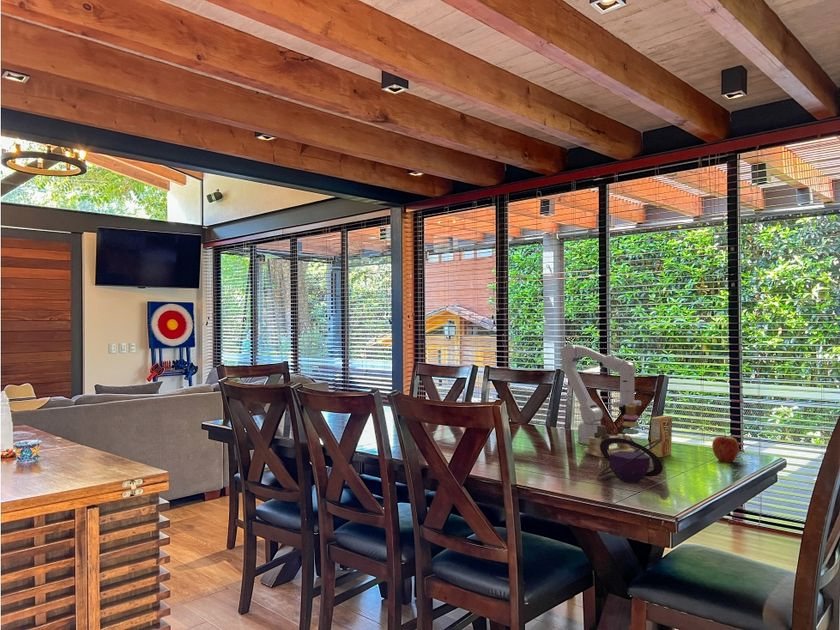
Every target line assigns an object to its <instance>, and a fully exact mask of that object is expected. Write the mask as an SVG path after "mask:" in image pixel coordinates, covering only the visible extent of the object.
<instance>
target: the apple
mask: <svg viewBox="0 0 840 630" xmlns="http://www.w3.org/2000/svg"><path fill="white" fill-rule="evenodd" d="M711 448H712V451H713V454H714V456H715V458H716V459H717V460H718V461H720V462H723V461H724V462H723V463H733V461H735V460H736V458H737V456H738V454H739V451H740V446H739V442H738V440H737V439H736V438H734V437H733V436H727V435H726V434H724V436H723V435H722V436H721V435H718V436H716V437H715V438H714V439H713V441H712V447H711Z"/></svg>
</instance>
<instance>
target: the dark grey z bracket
mask: <svg viewBox="0 0 840 630" xmlns="http://www.w3.org/2000/svg"><path fill="white" fill-rule="evenodd" d="M609 436H610V434H607V426H606V425H602V424H601V425H600V426H597V432H596V433H594V438H600V437H604V438H603V440H605V439H608V438H609ZM609 446H610V445H609ZM609 446H608V447H607V450H609Z"/></svg>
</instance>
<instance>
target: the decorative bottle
mask: <svg viewBox="0 0 840 630" xmlns="http://www.w3.org/2000/svg"><path fill="white" fill-rule="evenodd" d="M625 409H626V414H625V415H624V416H622V419H623V418H624V419H630V420H631V422H626V421H625V422H624V421H623V423H622V426H624V427H629V428H624V429H623V430H622V431H621V432H622V434H624V435H638V434H639V433H640V431H639V430H638V429H635V428H636V427H639V426H640V424H639V423H638V422H636V421H632V420H639V419H640V417H639V415H637V413H636V410H637V405H636V406H633V405H631V404H626V406H625ZM632 414H633V415H632ZM634 427H635V428H634ZM661 440H662V439H658V440H656V441H653V442H651V441H650V442H649V443H648V444H645V445H641V444H639V443H637V442H635V441H632V440H630V441H629V440H626V439H620V438H608V439H605V440H603V441H602V442H601V444H600V450H601V452H602V454H603V456H604V457H603V458H605V459H606V460H607V461H608V467H606V468H605V469H604V470H603V471H601V472H600V473H599V474H598V477H603V476H605V475H609V474H610V473H613V474H614V475H615V476H616V478H617V479H618V480H620V481H621V482H623V483H628V484H639V483H640V481H642V479H643V478H645V477H647V478H648V477H649V478H651V477H656V476H657V477H658V475H661V474H662V472H663V469H664V467H663V463H662V461H661V459H660V458H659V457H657V456H656V455H655V454H654V453H652V452H651V449H652V448H653V447H655V446H656V445H657V444H659V443H660V442H661ZM655 442H657V443H656V444H655V445H653V446H652V447H651V444H653V443H655ZM612 443H615V444H617V443H624V444H628V445H630V447H631V446H632V447H633V448H635V449H636V450H635V451H634V452H628V451H627V452H626V451H618V452H616V451H615V453H613V454H610V456H609V454H608V452H607V447H608V446H611V445H613V444H612ZM648 446H650V447H649V448H647V447H648ZM638 451H642V452H638ZM651 460H652V462H653V464H654V468H653V469H652V470H651V471H649V470H650V466H651V465H650V463H651ZM609 469H610V470H609ZM608 470H609V471H608Z"/></svg>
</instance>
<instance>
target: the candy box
mask: <svg viewBox="0 0 840 630" xmlns="http://www.w3.org/2000/svg"><path fill="white" fill-rule="evenodd" d="M650 420H651V422H650V423H651V425H650V428H651V429H650V433H651V435H650V443H651V442H653V441H656V440H658V439H662V440H661V442H660V443H659V444H657V445H656V446H655V447H653V448H652V449H650V451H651V452H652V453H654V454H655V455H656V456H657V457H658V458H659V457H660V458H663V457H667V456H672V440H673V439H672V438H673V437H672V435H673V434H672V432H673V431H672V430H673V417H672V416H669V415H660V416H659V415H658V416H653V417H651V419H650ZM656 443H657V442H655V443H653V444H650V447H652V446H653V445H655V444H656Z"/></svg>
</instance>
